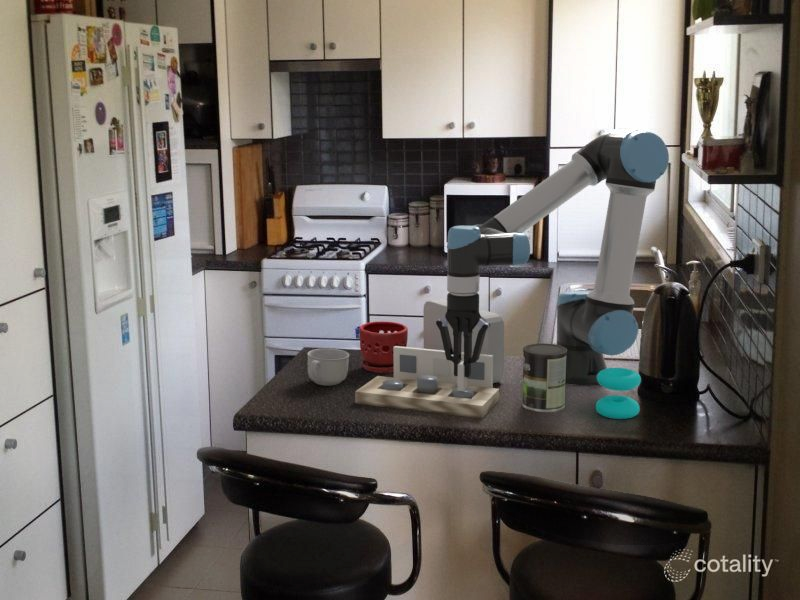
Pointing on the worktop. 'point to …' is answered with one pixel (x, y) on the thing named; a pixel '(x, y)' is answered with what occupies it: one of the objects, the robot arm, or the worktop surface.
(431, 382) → the button centre
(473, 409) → the button board
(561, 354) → the coffee can
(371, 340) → the plant pot
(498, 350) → the rounded white slab
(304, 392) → the worktop surface
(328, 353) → the teacup
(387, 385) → the button
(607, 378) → the donuts
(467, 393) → the button
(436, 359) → the pattern card
